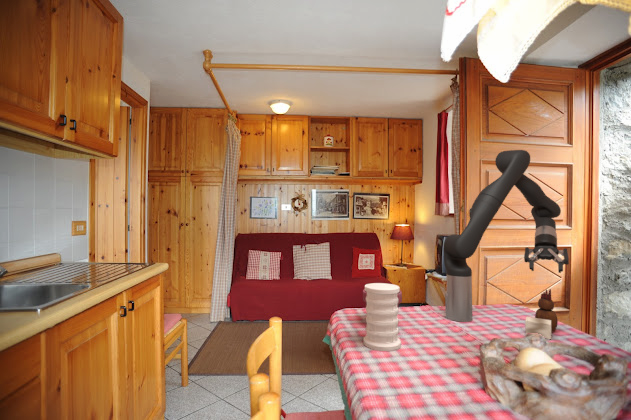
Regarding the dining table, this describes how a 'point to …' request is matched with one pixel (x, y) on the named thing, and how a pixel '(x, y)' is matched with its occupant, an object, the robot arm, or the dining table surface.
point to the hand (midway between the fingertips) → (545, 270)
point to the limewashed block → (538, 326)
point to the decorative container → (382, 317)
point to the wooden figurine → (547, 309)
